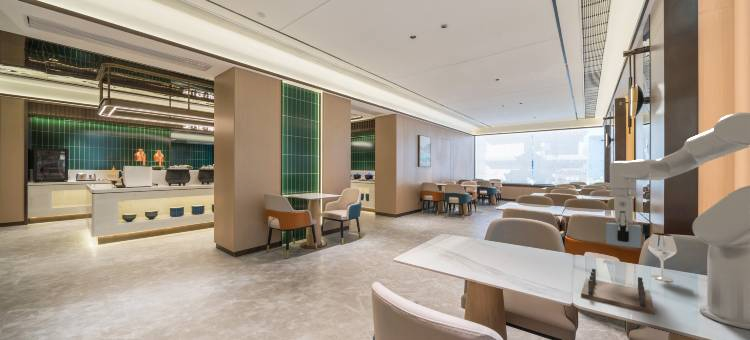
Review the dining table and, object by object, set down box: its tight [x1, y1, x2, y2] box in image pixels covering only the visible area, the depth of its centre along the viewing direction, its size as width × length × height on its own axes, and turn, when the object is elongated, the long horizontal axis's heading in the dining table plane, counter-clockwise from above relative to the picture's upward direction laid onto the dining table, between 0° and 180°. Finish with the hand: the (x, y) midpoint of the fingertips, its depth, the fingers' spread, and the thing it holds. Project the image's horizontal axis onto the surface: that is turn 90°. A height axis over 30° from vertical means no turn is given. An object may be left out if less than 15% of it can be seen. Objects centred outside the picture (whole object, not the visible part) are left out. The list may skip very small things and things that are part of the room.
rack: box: [580, 268, 655, 315], centre depth 98 cm, size 18×19×6 cm
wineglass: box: [647, 232, 678, 282], centre depth 114 cm, size 8×8×18 cm
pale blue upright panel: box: [605, 222, 642, 249], centre depth 108 cm, size 10×2×8 cm, turn 48°
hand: (623, 240), depth 108 cm, fingers closed on pale blue upright panel, 2 cm apart
